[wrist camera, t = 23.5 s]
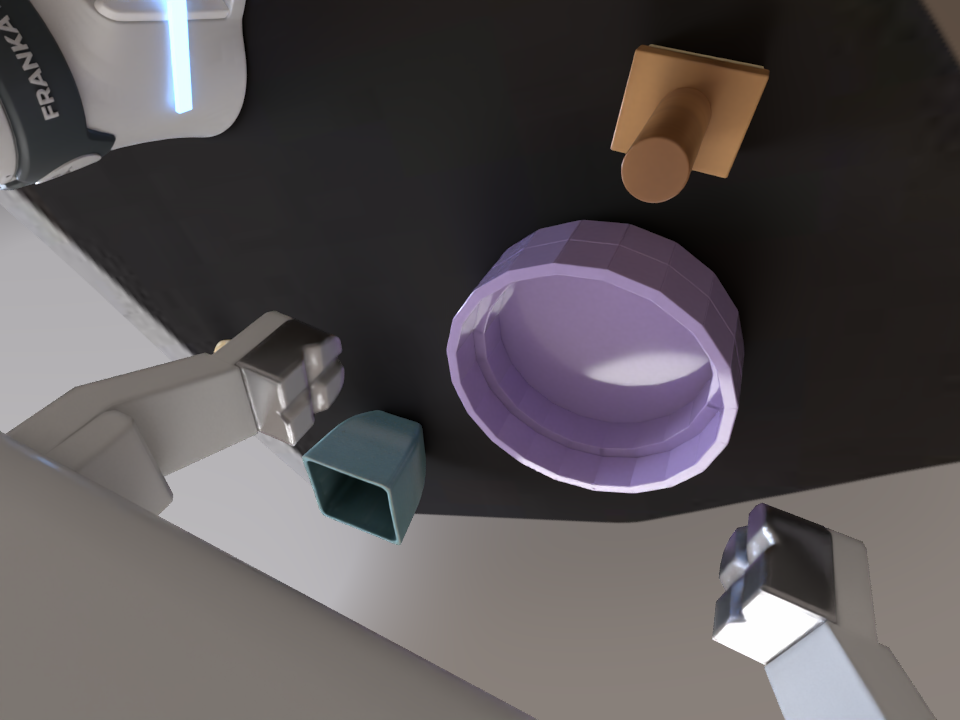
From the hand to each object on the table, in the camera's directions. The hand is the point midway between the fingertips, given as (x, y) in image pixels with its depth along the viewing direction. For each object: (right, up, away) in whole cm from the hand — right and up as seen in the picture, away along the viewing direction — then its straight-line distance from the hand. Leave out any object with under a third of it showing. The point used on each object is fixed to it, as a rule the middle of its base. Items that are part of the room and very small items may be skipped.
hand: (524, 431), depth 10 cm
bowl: (+7, +3, +26) cm, 28 cm away
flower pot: (-8, -6, +43) cm, 45 cm away
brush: (+9, +14, +16) cm, 23 cm away
